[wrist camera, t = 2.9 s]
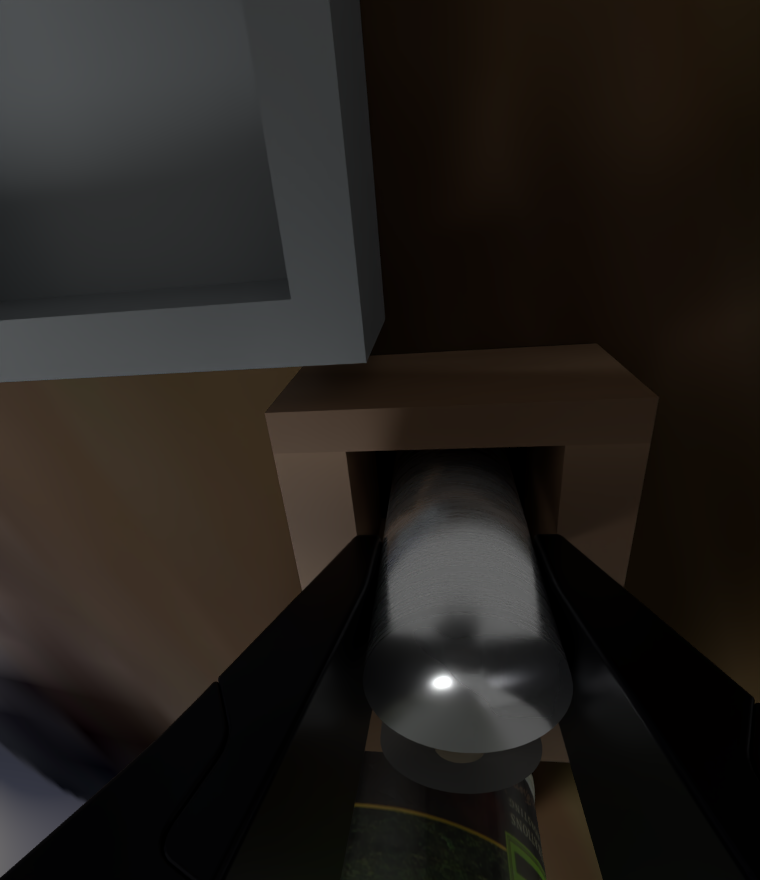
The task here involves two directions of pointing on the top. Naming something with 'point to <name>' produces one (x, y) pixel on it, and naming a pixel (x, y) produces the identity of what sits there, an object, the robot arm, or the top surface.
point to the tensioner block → (453, 427)
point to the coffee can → (440, 830)
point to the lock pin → (462, 610)
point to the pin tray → (184, 187)
